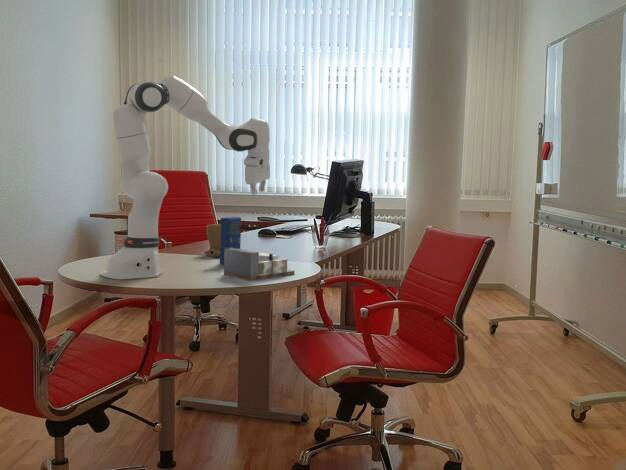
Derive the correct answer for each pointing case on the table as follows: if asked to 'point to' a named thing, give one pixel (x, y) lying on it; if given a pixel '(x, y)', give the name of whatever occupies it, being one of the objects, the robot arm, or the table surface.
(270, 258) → the drag needle
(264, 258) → the plunger
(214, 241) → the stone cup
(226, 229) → the electronic device
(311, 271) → the table surface
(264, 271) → the gauge base
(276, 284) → the table surface
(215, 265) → the table surface
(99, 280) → the table surface
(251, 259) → the grey rectangular block
